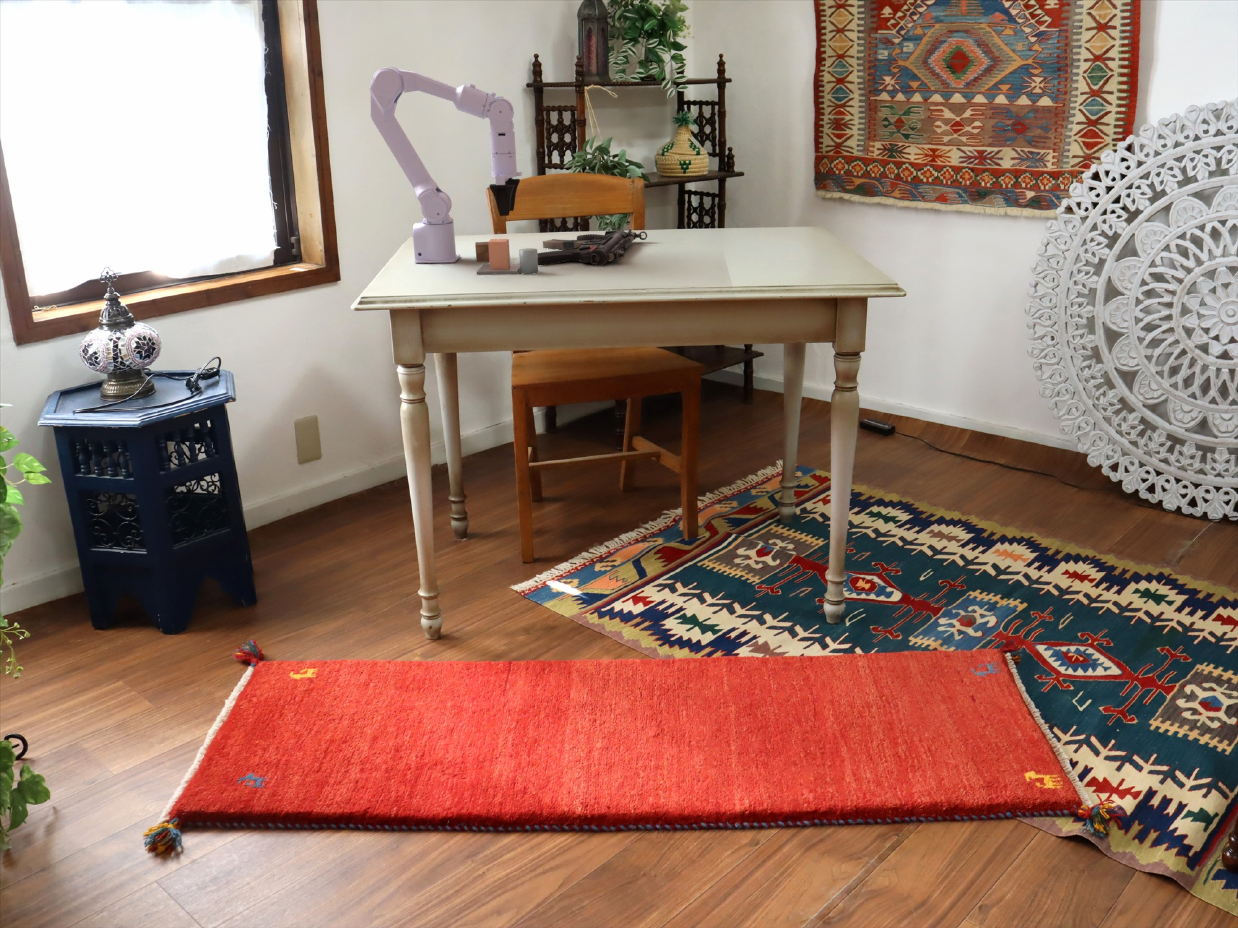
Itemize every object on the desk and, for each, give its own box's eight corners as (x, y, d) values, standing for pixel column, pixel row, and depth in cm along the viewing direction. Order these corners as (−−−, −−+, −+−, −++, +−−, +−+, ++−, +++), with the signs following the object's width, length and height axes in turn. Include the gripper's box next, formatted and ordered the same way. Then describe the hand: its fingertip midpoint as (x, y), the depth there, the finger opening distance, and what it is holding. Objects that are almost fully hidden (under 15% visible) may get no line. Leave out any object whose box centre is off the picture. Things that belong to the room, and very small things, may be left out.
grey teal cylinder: (519, 274, 233) (517, 251, 231) (521, 271, 236) (520, 248, 235) (537, 274, 232) (536, 251, 231) (539, 270, 236) (538, 248, 234)
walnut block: (476, 262, 248) (475, 245, 246) (476, 259, 252) (475, 242, 250) (498, 261, 248) (496, 244, 247) (497, 258, 252) (496, 241, 251)
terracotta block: (490, 269, 236) (488, 242, 233) (492, 265, 239) (490, 239, 237) (507, 269, 235) (506, 242, 233) (510, 265, 239) (508, 238, 237)
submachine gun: (551, 230, 271) (647, 225, 266) (553, 247, 273) (648, 243, 268) (517, 252, 241) (624, 247, 236) (519, 271, 243) (626, 267, 238)
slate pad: (476, 274, 234) (476, 271, 233) (483, 266, 242) (483, 264, 242) (517, 273, 233) (517, 271, 233) (522, 266, 242) (522, 263, 241)
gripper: (516, 155, 236) (519, 217, 241) (524, 150, 249) (527, 208, 254) (484, 156, 236) (488, 218, 241) (494, 150, 250) (498, 209, 255)
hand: (506, 213), depth 248 cm, fingers open, 7 cm apart
